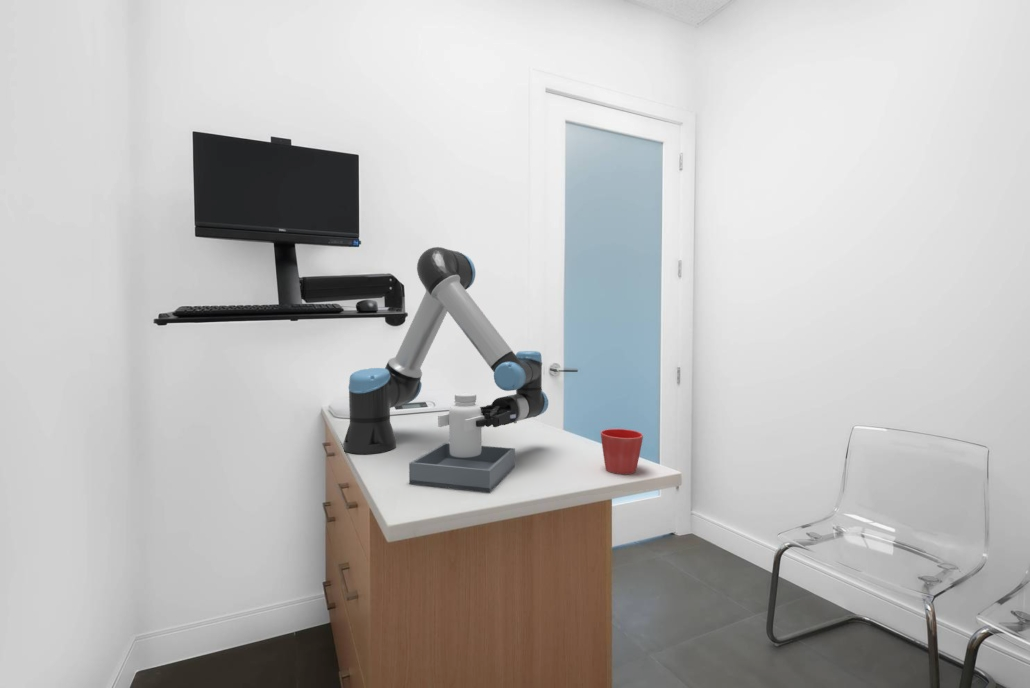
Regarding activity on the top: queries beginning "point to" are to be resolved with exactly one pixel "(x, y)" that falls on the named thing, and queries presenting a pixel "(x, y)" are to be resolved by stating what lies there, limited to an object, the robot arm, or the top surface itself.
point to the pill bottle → (459, 439)
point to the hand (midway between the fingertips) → (452, 423)
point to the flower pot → (621, 450)
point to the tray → (462, 469)
